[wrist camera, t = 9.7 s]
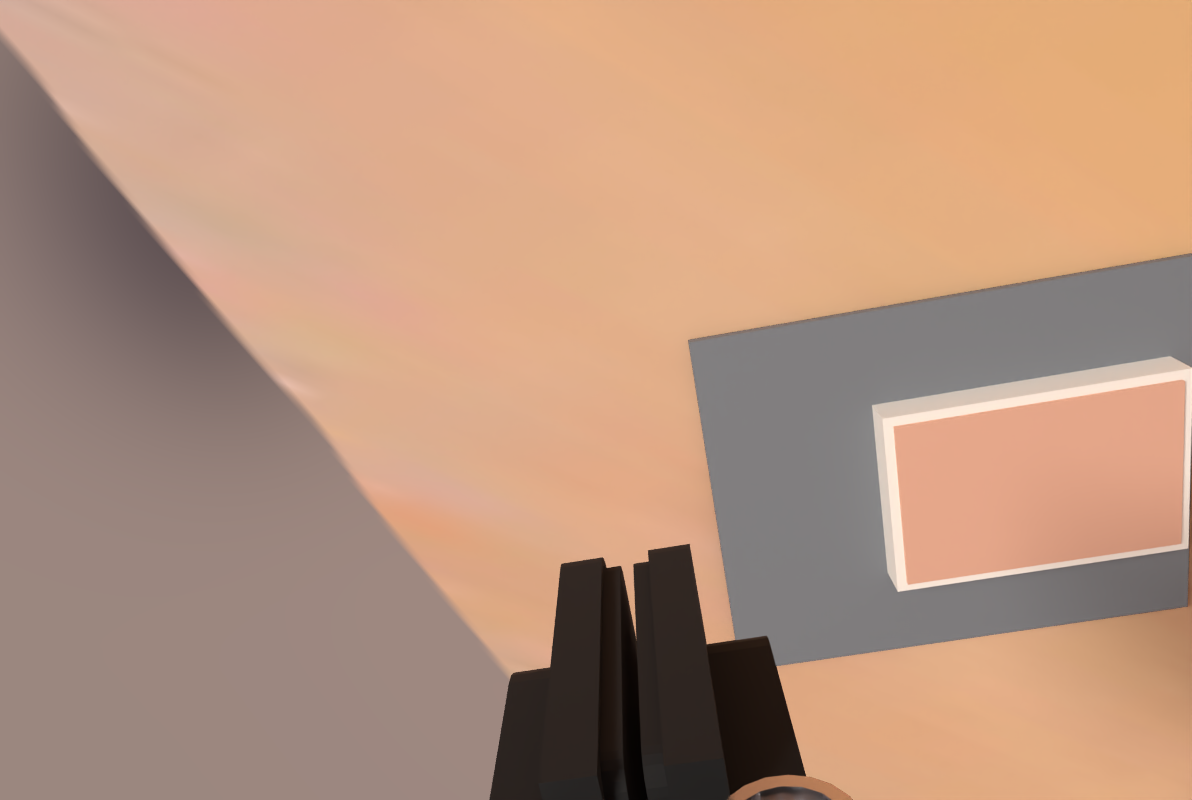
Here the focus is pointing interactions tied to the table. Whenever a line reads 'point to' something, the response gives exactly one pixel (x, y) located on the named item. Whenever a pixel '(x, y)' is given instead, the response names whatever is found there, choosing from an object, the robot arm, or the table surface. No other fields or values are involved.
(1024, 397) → the tile
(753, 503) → the mat
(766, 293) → the table surface
